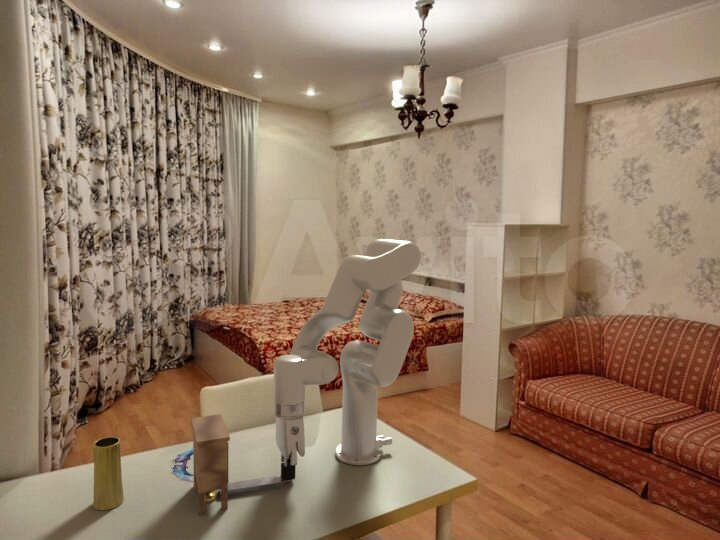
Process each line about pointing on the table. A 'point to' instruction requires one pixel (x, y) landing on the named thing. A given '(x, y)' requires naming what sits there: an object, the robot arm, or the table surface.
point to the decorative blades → (183, 466)
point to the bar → (254, 486)
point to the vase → (107, 474)
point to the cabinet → (210, 458)
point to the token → (210, 496)
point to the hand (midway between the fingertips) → (288, 478)
